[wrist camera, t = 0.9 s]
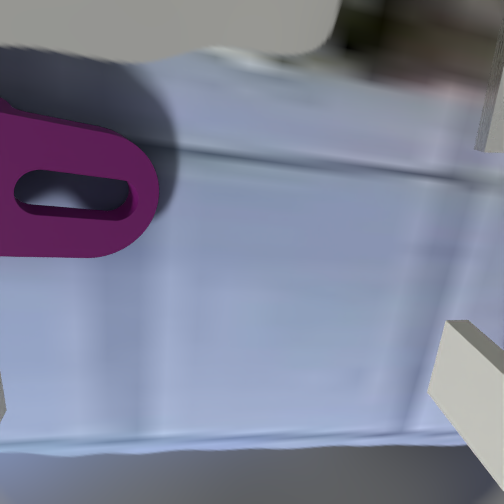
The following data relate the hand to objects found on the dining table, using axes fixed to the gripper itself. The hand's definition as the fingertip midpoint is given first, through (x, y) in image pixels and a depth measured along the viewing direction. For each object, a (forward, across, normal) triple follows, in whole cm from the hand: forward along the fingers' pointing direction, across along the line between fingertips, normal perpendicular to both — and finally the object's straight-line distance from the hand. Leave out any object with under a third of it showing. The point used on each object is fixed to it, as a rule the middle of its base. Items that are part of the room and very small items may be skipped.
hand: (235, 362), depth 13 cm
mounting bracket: (+26, -12, 0) cm, 28 cm away
